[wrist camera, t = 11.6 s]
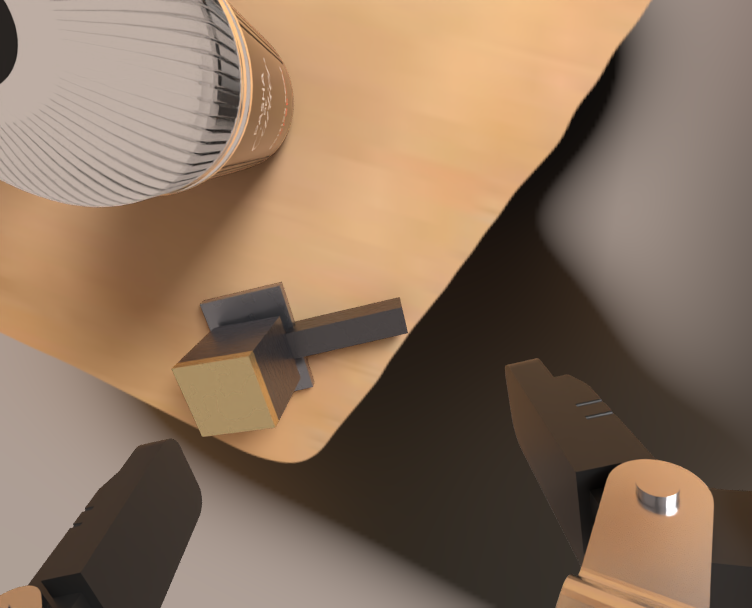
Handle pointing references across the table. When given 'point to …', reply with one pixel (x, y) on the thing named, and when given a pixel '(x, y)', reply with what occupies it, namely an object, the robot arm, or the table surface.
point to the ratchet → (308, 323)
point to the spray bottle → (134, 97)
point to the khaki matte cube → (239, 377)
